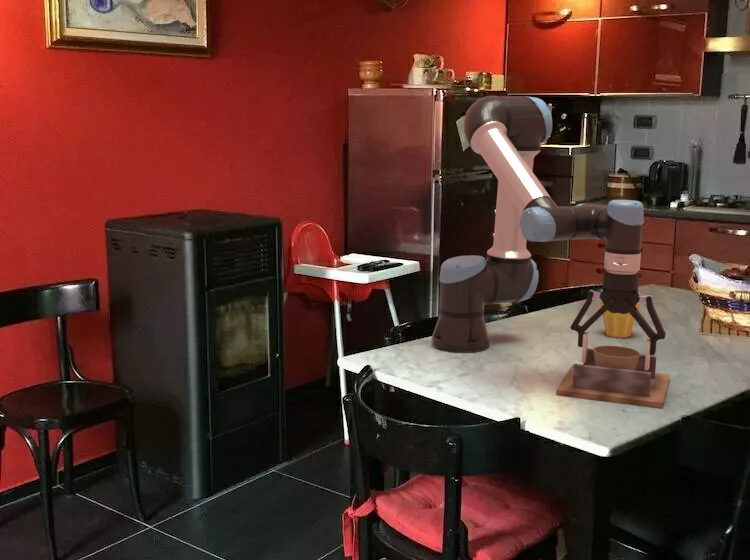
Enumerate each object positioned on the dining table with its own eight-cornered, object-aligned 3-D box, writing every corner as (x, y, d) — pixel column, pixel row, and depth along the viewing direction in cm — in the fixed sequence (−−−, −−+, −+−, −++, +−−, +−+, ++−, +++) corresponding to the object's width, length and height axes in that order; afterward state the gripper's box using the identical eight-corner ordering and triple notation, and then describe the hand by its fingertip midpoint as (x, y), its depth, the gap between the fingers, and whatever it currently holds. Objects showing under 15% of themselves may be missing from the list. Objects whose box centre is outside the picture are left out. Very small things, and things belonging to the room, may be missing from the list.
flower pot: (613, 391, 185) (615, 359, 184) (582, 378, 194) (584, 348, 192) (647, 385, 190) (649, 353, 188) (615, 373, 198) (617, 343, 197)
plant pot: (596, 337, 236) (598, 302, 235) (601, 329, 246) (603, 295, 244) (635, 341, 233) (637, 306, 231) (638, 332, 242) (640, 298, 240)
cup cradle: (556, 395, 186) (557, 367, 185) (572, 368, 206) (574, 343, 205) (662, 408, 178) (664, 379, 177) (669, 379, 198) (671, 353, 197)
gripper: (561, 269, 188) (555, 362, 192) (681, 279, 179) (672, 376, 183) (566, 264, 195) (561, 354, 199) (682, 273, 186) (674, 367, 190)
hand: (615, 365), depth 191 cm, fingers open, 13 cm apart
